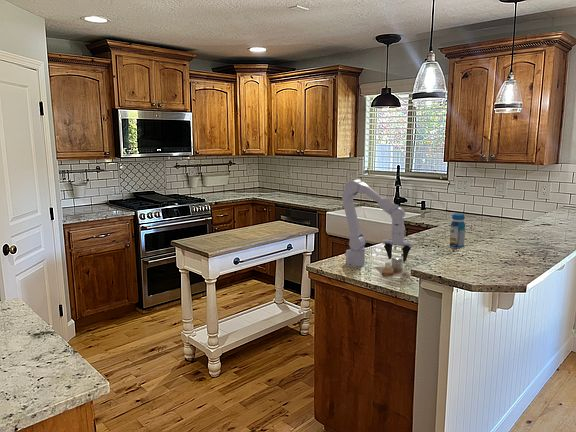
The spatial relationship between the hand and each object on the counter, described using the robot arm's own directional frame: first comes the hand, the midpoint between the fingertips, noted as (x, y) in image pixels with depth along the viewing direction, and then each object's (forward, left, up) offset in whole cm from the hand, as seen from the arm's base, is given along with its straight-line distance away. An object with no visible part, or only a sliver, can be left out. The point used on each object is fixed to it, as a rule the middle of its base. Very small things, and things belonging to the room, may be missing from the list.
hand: (397, 259), depth 219 cm
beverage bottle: (+48, +44, -6) cm, 65 cm away
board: (-4, -4, -6) cm, 8 cm away
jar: (-7, -7, -4) cm, 11 cm away
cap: (0, 0, -4) cm, 4 cm away
